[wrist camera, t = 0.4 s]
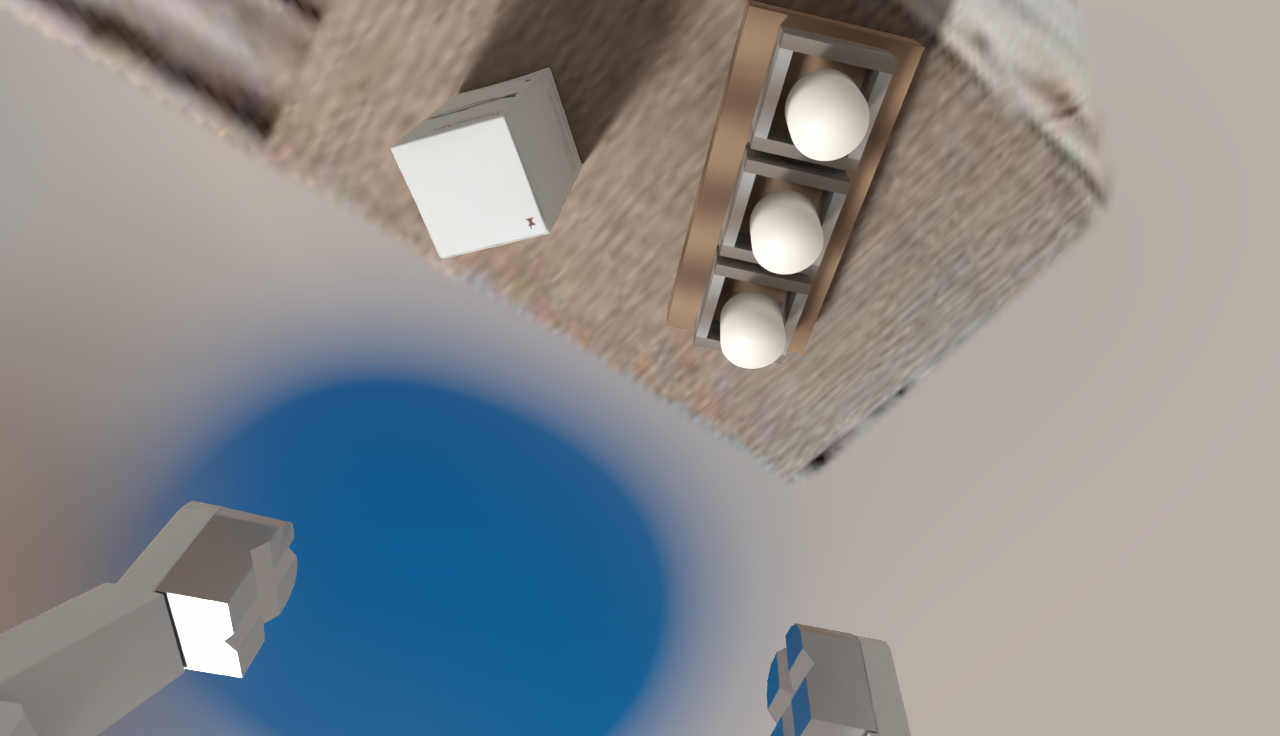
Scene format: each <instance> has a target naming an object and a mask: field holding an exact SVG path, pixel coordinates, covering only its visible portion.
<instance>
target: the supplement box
mask: <svg viewBox="0 0 1280 736" xmlns="http://www.w3.org/2000/svg"><path fill="white" fill-rule="evenodd" d="M391 151H392V153H393V155H394V157H395V159H396V161H397V163H398V166H399V168H400V170H401V172H402V174H403V176H404V178H405V180H406V183H407V185H408V187H409V189H410V191H411V193H412V195H413V198H414V200H415V202H416V204H417V206H418V208H419V211H420V213H421V215H422V218H423V220H424V222H425V224H426V227H427V229H428V231H429V234H430V236H431V238H432V240H433V243H434V245H435V247H436V250H437V252H438V254H439V256H440V257H441V258H449V257H453V256H457V255H461V254H465V253H469V252H473V251H477V250H482V249H486V248H490V247H496V246H500V245H503V244H507V243H511V242H515V241H519V240H523V239H527V238H532V237H536V236H540V235H546V234H549V233H550V232H551V230H552V227H553V225H554V223H555V221H556V219H557V217H558V215H559V213H560V211H561V209H562V206H563V204H564V202H565V200H566V198H567V196H568V194H569V192H570V190H571V188H572V186H573V184H574V181H575V179H576V177H577V175H578V173H579V171H580V169H581V167H582V164H581V161H580V158H579V155H578V151H577V148H576V145H575V142H574V139H573V136H572V133H571V130H570V127H569V124H568V121H567V118H566V115H565V112H564V109H563V106H562V103H561V99H560V96H559V93H558V90H557V87H556V84H555V81H554V78H553V75H552V72H551V69H550V68H545V69H542V70H539V71H536V72H533V73H530V74H528V75H525V76H521V77H518V78H515V79H512V80H508V81H505V82H501V83H498V84H494V85H490V86H487V87H483V88H480V89H476V90H472V91H468V92H464V93H459V94H456V95H455V96H454V97H453V98H451V99H450V100H449V101H447V102H446V103H445V104H444V105H442V106H441V107H440V108H439V109H437V110H436V111H435V112H434V113H432V114H431V115H430V116H429V117H427V118H426V119H425V120H424V121H422V122H421V123H420V124H419V125H418V126H417V127H415V128H414V129H413V130H412V131H411V132H410V133H408V134H407V135H406V136H404V137H403V138H402V139H401V140H400V141H398V142H397V143H396V144H395V145H393V146H392V147H391Z"/></svg>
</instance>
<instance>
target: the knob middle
mask: <svg viewBox="0 0 1280 736" xmlns="http://www.w3.org/2000/svg"><path fill="white" fill-rule="evenodd" d="M750 235H751V244H752V251H753V254H754V256H755V258H756V260H757V261H758V263H759V264H760V265H761V266H762V267H764V268H765V269H767V270H768V271H771V272H773V273H777V274H793V273H797V272H800V271H802V270H804V269H806V268H808V267H809V266H810V265H812V264H813V263H814V262H815V260H816V259H817V258H818V256H819V255H820V253H821V251H822V248H823V243H824V236H823V231H822V228H821V224H820V221H819V218H818V215H817V212H816V209H815V207H814V205H813V203H812V202H811V201H810V199H809V198H807V197H806V196H805V195H803V194H801V193H799V192H796V191H792V190H780V191H776V192H773V193H770V194H768V195H767V196H765V197H763V198H762V199H761V200H760V201H759V202H758V203H757V204H756V206H755V207H754V209H753V211H752V213H751V216H750Z"/></svg>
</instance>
